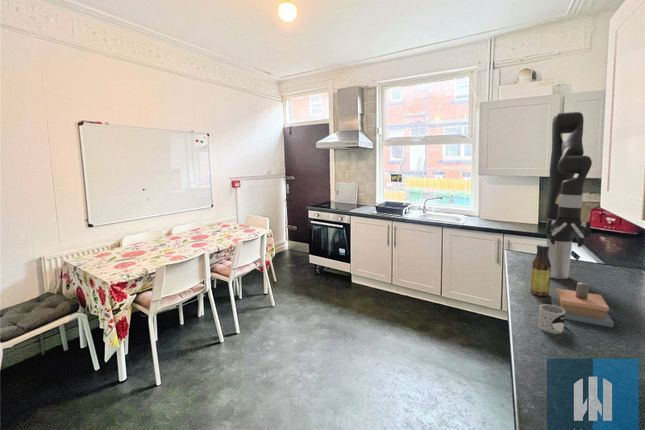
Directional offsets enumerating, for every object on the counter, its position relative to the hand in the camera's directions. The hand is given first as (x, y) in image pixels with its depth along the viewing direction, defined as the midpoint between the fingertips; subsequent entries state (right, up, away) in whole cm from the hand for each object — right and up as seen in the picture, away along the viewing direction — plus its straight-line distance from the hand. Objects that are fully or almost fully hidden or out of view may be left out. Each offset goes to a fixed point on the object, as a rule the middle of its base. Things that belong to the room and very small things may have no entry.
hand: (565, 245), depth 133 cm
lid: (-10, -17, -20) cm, 28 cm away
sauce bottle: (-13, -19, -3) cm, 23 cm away
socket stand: (-10, -22, -19) cm, 30 cm away
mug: (-25, -24, -28) cm, 45 cm away
